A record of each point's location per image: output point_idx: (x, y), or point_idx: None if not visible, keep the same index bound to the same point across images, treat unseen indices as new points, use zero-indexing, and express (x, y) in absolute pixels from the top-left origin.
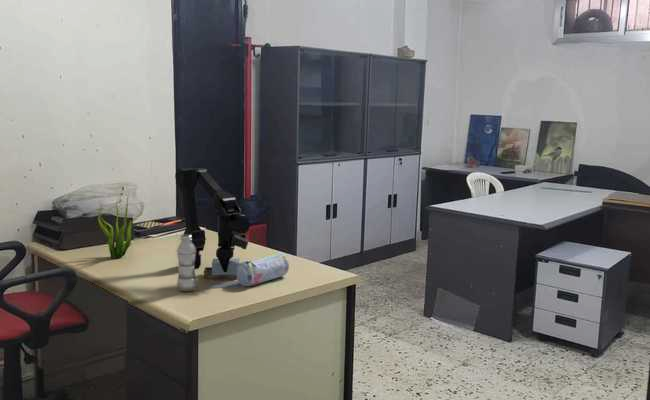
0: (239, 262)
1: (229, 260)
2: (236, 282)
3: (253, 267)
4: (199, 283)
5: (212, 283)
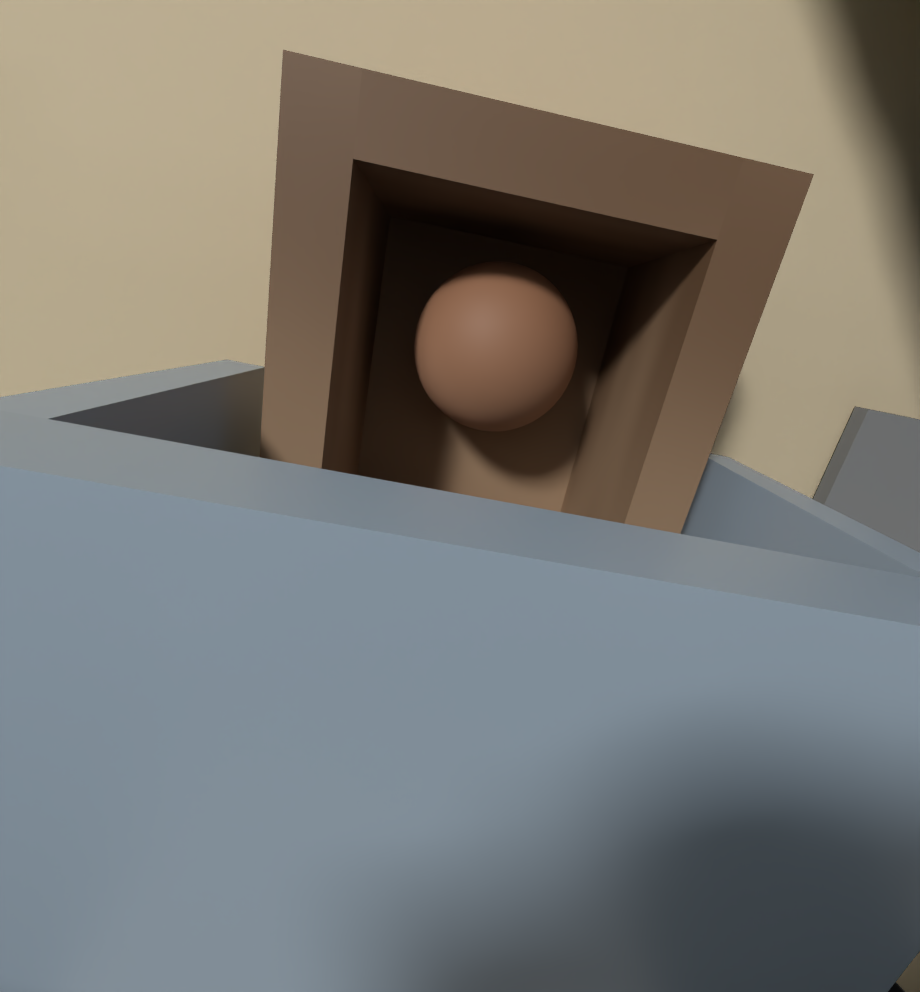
0: (97, 396)
1: (354, 986)
2: (911, 520)
3: None
4: None
5: None
